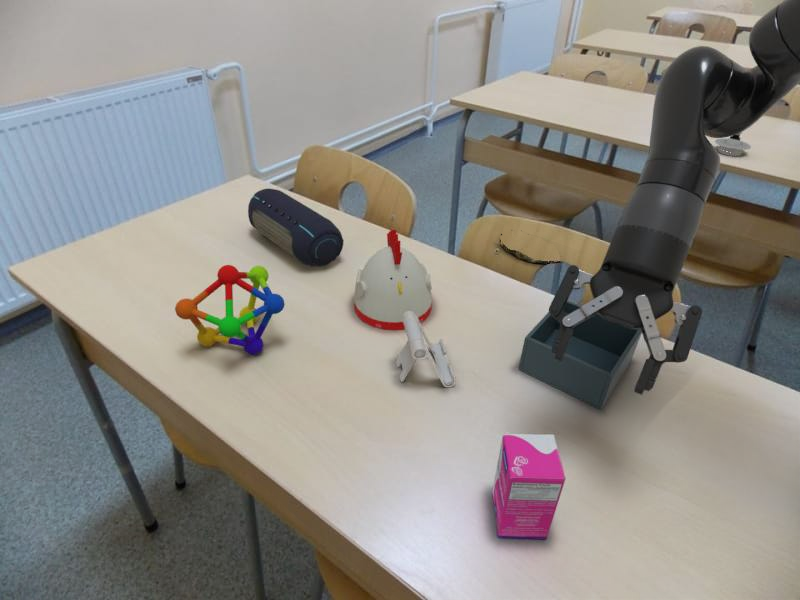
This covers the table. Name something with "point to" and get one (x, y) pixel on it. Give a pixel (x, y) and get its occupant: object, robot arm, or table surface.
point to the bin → (580, 356)
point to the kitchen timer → (392, 287)
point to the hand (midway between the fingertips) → (596, 376)
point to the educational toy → (229, 323)
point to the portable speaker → (295, 227)
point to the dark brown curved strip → (524, 256)
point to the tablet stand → (423, 351)
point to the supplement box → (527, 485)
